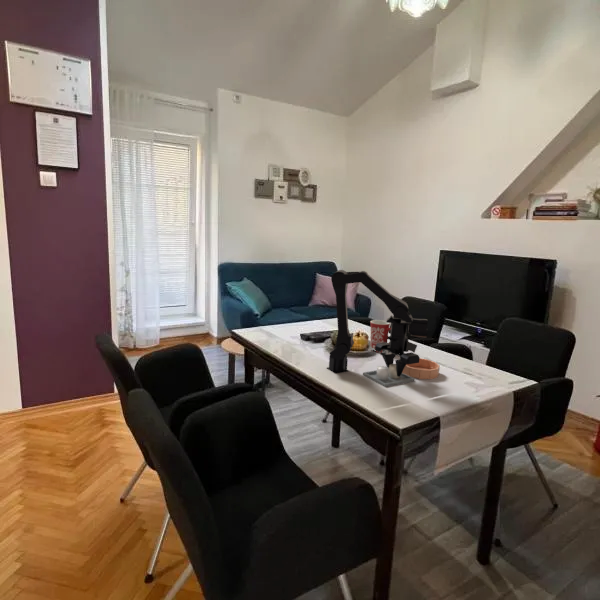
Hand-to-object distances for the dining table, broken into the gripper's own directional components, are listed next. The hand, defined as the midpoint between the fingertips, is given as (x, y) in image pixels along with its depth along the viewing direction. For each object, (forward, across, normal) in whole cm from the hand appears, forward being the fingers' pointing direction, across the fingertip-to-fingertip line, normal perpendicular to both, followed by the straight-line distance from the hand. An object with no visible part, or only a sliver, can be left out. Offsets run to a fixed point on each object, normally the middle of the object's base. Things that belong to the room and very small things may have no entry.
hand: (394, 374), depth 159 cm
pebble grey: (+1, 0, +6) cm, 6 cm away
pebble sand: (+1, 0, 0) cm, 1 cm away
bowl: (+2, 0, -13) cm, 13 cm away
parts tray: (+2, 0, +3) cm, 3 cm away
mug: (+2, +29, -18) cm, 34 cm away
